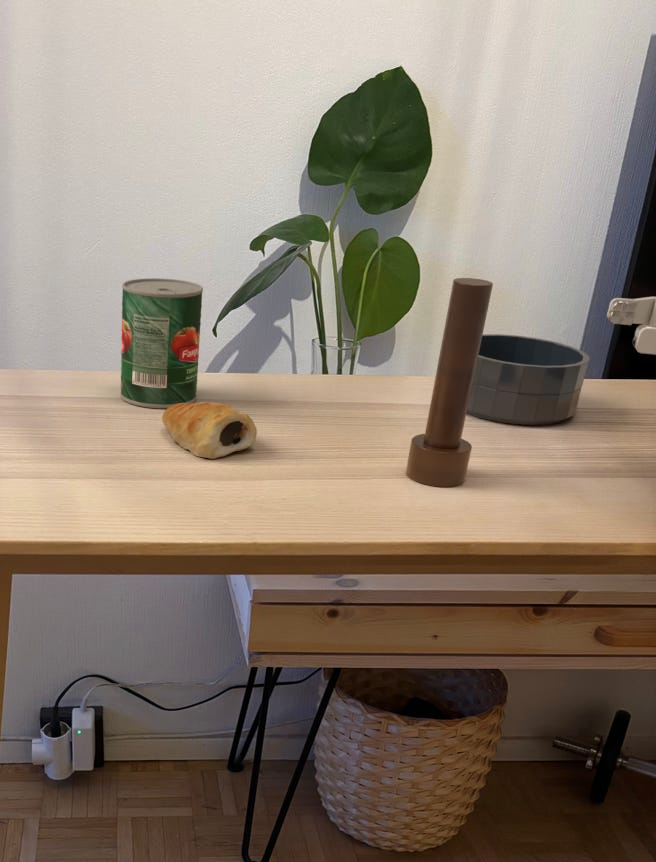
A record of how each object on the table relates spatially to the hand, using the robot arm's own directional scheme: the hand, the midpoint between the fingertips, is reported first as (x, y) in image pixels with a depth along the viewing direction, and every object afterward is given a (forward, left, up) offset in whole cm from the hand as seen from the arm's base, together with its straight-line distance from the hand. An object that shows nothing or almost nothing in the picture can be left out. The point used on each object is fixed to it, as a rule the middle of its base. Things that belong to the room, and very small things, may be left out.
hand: (622, 323), depth 75 cm
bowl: (+19, -12, -14) cm, 26 cm away
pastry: (+22, +24, -14) cm, 35 cm away
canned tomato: (+36, +21, -14) cm, 44 cm away
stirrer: (+7, +10, -14) cm, 18 cm away
